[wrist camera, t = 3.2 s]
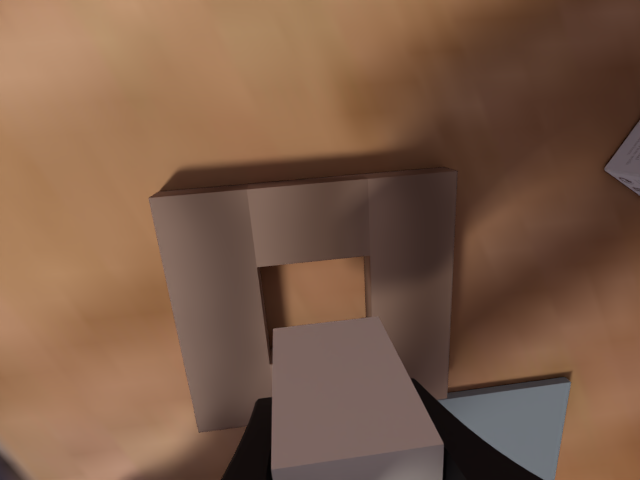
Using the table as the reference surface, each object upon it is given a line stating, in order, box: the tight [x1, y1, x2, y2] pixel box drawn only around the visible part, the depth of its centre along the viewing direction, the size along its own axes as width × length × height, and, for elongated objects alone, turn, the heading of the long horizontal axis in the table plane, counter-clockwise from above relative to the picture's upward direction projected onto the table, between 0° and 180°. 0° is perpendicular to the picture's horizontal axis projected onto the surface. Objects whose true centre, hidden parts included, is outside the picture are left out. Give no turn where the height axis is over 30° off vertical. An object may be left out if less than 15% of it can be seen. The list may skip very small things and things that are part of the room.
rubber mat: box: [438, 377, 571, 480], centre depth 25 cm, size 9×9×1 cm
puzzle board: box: [149, 167, 457, 433], centre depth 20 cm, size 14×13×2 cm
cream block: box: [271, 316, 444, 480], centre depth 12 cm, size 4×4×6 cm
